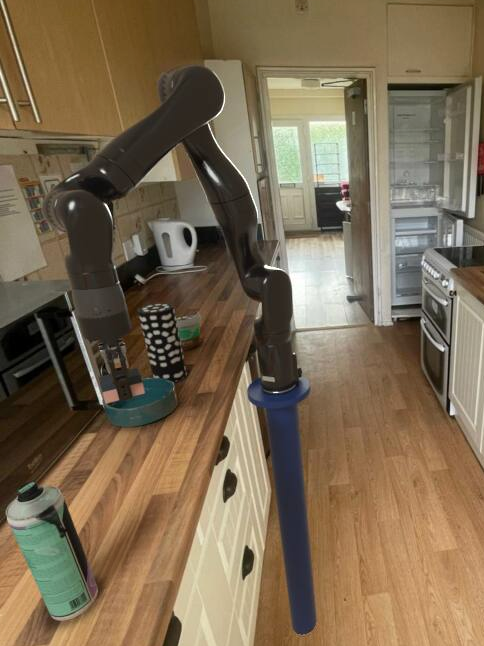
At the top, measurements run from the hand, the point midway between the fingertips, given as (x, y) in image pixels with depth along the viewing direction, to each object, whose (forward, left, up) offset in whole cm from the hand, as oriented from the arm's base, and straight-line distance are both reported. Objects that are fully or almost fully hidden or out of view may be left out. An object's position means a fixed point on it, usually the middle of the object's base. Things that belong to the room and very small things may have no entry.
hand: (124, 393), depth 81 cm
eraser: (0, 0, 0) cm, 0 cm away
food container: (-21, -51, -14) cm, 57 cm away
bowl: (-3, -18, -14) cm, 23 cm away
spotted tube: (-12, -33, -14) cm, 38 cm away
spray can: (+13, +29, -14) cm, 35 cm away
